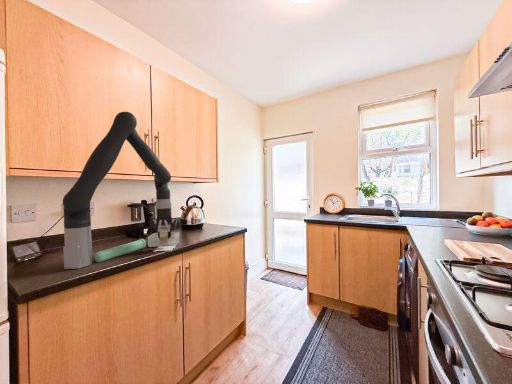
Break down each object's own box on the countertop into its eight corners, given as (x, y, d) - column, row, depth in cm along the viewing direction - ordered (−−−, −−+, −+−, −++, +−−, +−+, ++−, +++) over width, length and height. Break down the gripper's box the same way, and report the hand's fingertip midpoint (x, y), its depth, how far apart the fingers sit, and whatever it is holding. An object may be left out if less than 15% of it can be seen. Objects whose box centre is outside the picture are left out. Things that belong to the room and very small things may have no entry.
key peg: (167, 243, 119) (167, 225, 118) (160, 243, 118) (159, 225, 118) (170, 241, 123) (169, 224, 122) (162, 242, 122) (162, 224, 122)
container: (97, 250, 100) (144, 237, 123) (90, 253, 102) (137, 240, 125) (101, 262, 99) (147, 247, 122) (94, 266, 101) (140, 250, 124)
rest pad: (170, 251, 116) (170, 250, 116) (153, 252, 115) (153, 250, 115) (175, 246, 125) (175, 245, 125) (159, 247, 124) (159, 246, 124)
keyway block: (174, 246, 126) (174, 235, 126) (148, 247, 125) (147, 236, 125) (179, 241, 136) (179, 232, 136) (154, 242, 135) (154, 233, 135)
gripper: (147, 208, 115) (148, 240, 116) (175, 207, 116) (176, 239, 117) (153, 207, 123) (154, 237, 123) (178, 206, 124) (179, 236, 124)
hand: (164, 238), depth 120 cm, fingers closed on key peg, 4 cm apart
